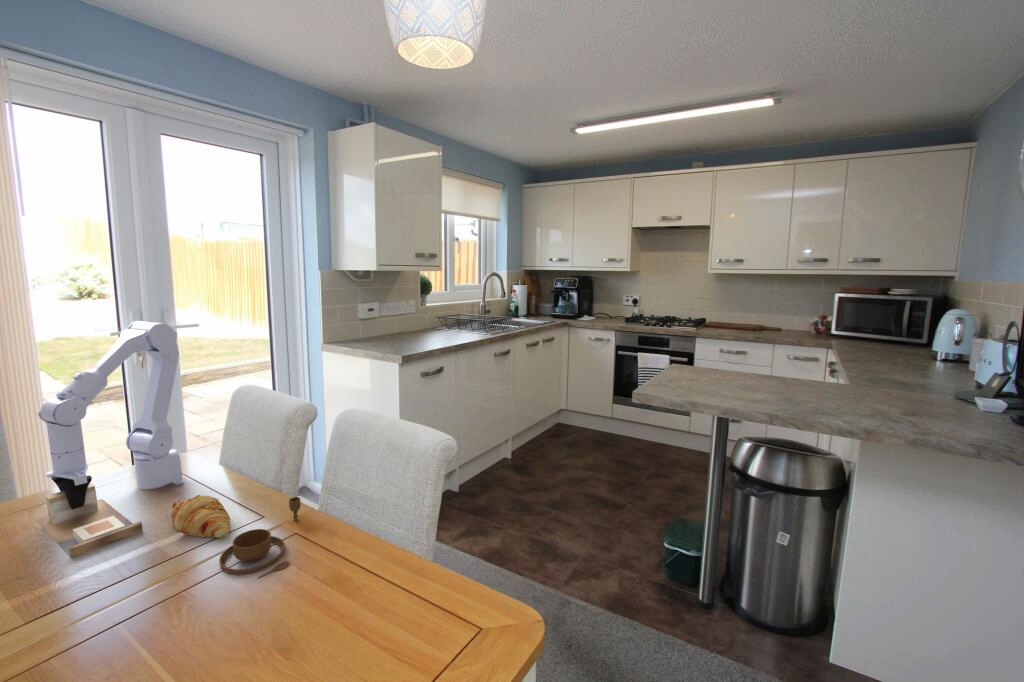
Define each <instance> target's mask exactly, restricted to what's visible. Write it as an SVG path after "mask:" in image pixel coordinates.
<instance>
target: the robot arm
mask: <svg viewBox="0 0 1024 682" xmlns="http://www.w3.org/2000/svg"><path fill="white" fill-rule="evenodd" d="M177 338H178V333H177V331H175V329H173V327H172V326H171V325H169V324H168V323H165V322H150V321H149V322H148V321H143V320H136V321H133V322H131V323H130V324H128V325H127V328H126V329H124V330H123V331H121V332H120V335H119V338H118V339H117V340H116V342H114V344H113V345H112V346H111V347H110V349H108V350H107V352H106V353H105V354H104V355H103V356H102V358H101V359H99V361H98V362H97V363H96V364H95V366H93V367H92V368H91V369H85V370H82V371H80V372H77V373H75V374H74V375H73V376H72V378H73V379H72V381H70V382H69V383H68V384H67V385H66V386H65V387H64V389H62V390H61V391H58V392H57V393H56V394H55V395H56V397H52V398H50V399H48V400H46V401H45V402H44V403H43V404H42V405H41V407H40V411H39V412H37V415H38V417H39V419H40V420H42V421H43V422H45V424H46V425H45V426H46V430H47V438H48V439H47V440H48V447H49V453H50V459H51V460H50V461H51V467H52V470H50V471H47V472H46V473H45V476H46V477H47V478H50V479H51V480H52V481H53V483H54V484H55V485H56V486H57V488H58V489H59V492H61V491H64V493H65V495H66V497H67V500H68V503H69V505H70V507H71V509H76V508H79V507H82V506H84V503H85V497H86V491H87V488H88V486H89V484H90V483H91V482H92V480H93V477H92V476H91V475H90V474H89V475H87V471H88V470H89V469H88V468H89V464H88V463H87V459H86V450H85V442H84V434H83V428H82V420H83V419H84V418H85V417H86V415H87V409H88V407H89V405H90V404H91V402H92V401H93V400H94V399H95V398H96V397H97V396H98V395H100V394H101V392H102V391H103V390H104V389H105V388H106V387H107V386H108V385H109V384H108V377H109V376H110V375H111V374H112V373H114V371H116V370H117V369H118V368H119V367H120V366H121V365H122V364H123V363H124V362H126V360H128V359H129V358H130V357H131V356H132V355H133V354H135V353H140V352H146V353H147V355H148V356H150V357H151V358H152V362H151V367H150V373H149V377H148V382H147V388H146V391H145V395H144V396H145V397H144V402H143V406H142V412H141V416H140V418H139V419H137V421H135V422H134V423H133V425H132V429H131V431H130V433H129V434H128V435H127V437H126V439H125V440H126V441H125V445H126V447H127V449H128V450H129V451H131V452H132V454H133V459H134V460H133V461H134V466H135V467H134V469H135V478H136V486H137V489H139V490H142V491H143V490H145V491H147V490H153V489H158V488H161V487H164V486H166V485H169V484H172V483H173V484H174V485H181V484H183V483H185V481H184V480H183V471H182V463H181V462H182V461H181V457H180V453H179V452H178V451H177V449H174V448H173V446H174V437H173V435H172V434H173V427H172V425H171V423H169V421H168V419H167V418H168V414H169V407H170V404H171V398H172V393H173V388H174V383H175V377H176V372H177V368H178V363H179V357H180V352H179V348H178V344H177ZM92 403H93V402H92Z"/></svg>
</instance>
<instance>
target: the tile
mask: <svg viewBox="0 0 1024 682" xmlns="http://www.w3.org/2000/svg"><path fill="white" fill-rule="evenodd" d="M124 527H125V525H124V524H123V523H122V522H120V521H119V520H118V519H117V518H115V517H114V516H111V517H108V518H105V519H102V520H99V521H96V522H93V523H90V524H87V525H84V526H81V527H78V528H75V529H73V536H74V539H75V540H76V541H77V542H78V543H82V542H85V541H88V540H90V539H93V538H96V537H99V536H102V535H104V534H107V533H110V532H113V531H115V530H118V529H121V528H124Z"/></svg>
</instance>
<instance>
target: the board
mask: <svg viewBox="0 0 1024 682" xmlns="http://www.w3.org/2000/svg"><path fill="white" fill-rule="evenodd" d="M97 504H98V510H97V511H93V512H90V513H87V514H84V515H81V516H78V517H75V518H72V519H69V520H66V521H63V522H60V523H57V524H54V525H53V524H52V523H51V522H50V521H49V515H45V516H43V517H39V518H36V519H35V520H36V522H38V524H39V525H40V526H41V527H42V528H43V529H44V530H45V531H46V532H47V534H48V535H49V536H50V537H51V538H52V539H53V540H54V541H55V542H56V544H58V545H59V547H60V548H61V549H62V550H63V551H64V552H65V554H67V555H68V556H69V558H70V559H74V558H77V557H79V556H81V555H84V554H89V553H90V552H92V551H95V550H99V549H100V548H103V547H106V546H108V545H111V544H113V543H114V544H115V543H116V542H119V541H123V540H124V539H127V538H131V537H132V536H134V535H135V536H136V535H138V534H140V533H143V532H144V528H143V522H141V521H138V522H135V523H133V522H132V521H130V519H128V518H127V517H126V516H124V515H123V514H122V513H121V512H119V511H118V510H117V509H116V508H114V507H113V506H112V505H111V504H109V503H108V502H106V501H105V500H104V499H103V498H100V499H97ZM111 516H114V517H115V518H117V519H118V520H119V521H120V522H122V523H123V524H124V525H125V527H124V528H121V529H118V530H115V531H113V532H110V533H107V534H104V535H102V536H99V537H96V538H93V539H90V540H88V541H85V542H82V543H78V542H77V541H76V540H75V539H74V536H73V529H75V528H78V527H81V526H84V525H87V524H90V523H93V522H96V521H99V520H102V519H105V518H108V517H111Z"/></svg>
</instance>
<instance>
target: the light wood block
mask: <svg viewBox="0 0 1024 682" xmlns="http://www.w3.org/2000/svg"><path fill="white" fill-rule="evenodd" d="M97 498H98V497H97V491H96V486H95V485H94V484H93V483H91V482H90V484H89V486H88V488H87V491H86V497H85V503H84V506H82V507H79V508H76V509H71V507H70V505H69V503H68V500H67V497H66V495H65V493H64V491H57V492H55V493H51V494H47V495H45V501H46V507H47V514H48V515H49V521H50V522H51V523H52V524H53V525H54V524H57V523H60V522H63V521H66V520H69V519H72V518H75V517H78V516H81V515H84V514H87V513H90V512H93V511H97V510H98V504H97V500H98V499H97ZM48 515H47V516H48Z"/></svg>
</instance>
